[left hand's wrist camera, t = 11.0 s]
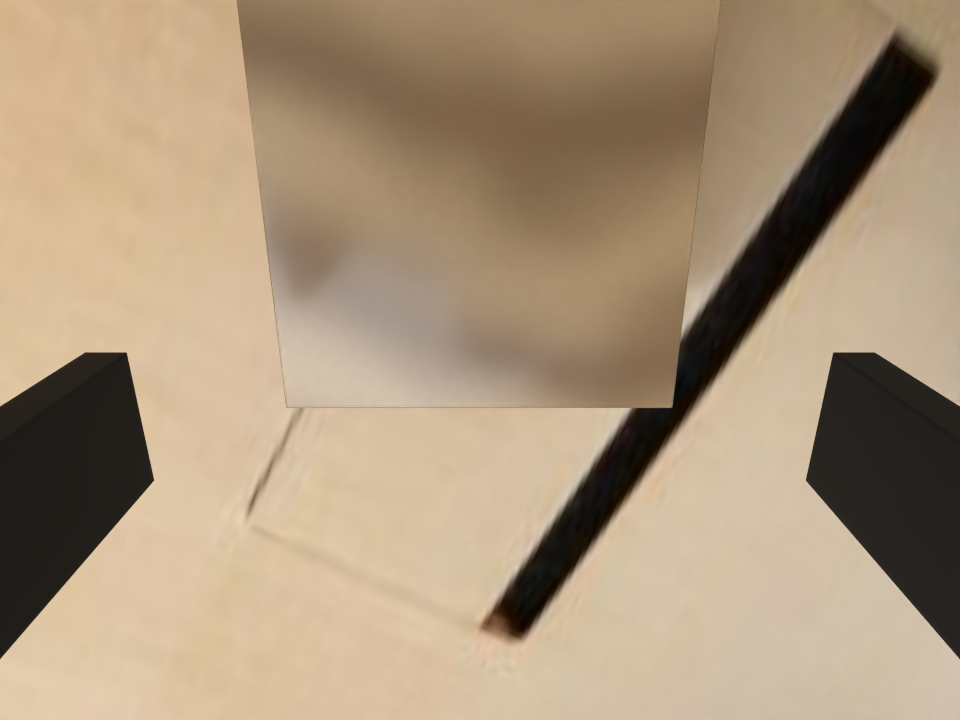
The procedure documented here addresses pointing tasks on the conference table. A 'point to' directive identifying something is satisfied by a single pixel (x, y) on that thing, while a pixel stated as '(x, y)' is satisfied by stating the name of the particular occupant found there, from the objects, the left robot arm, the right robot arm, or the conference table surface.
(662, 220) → the cabinet
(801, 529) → the conference table surface
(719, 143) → the conference table surface
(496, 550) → the conference table surface
